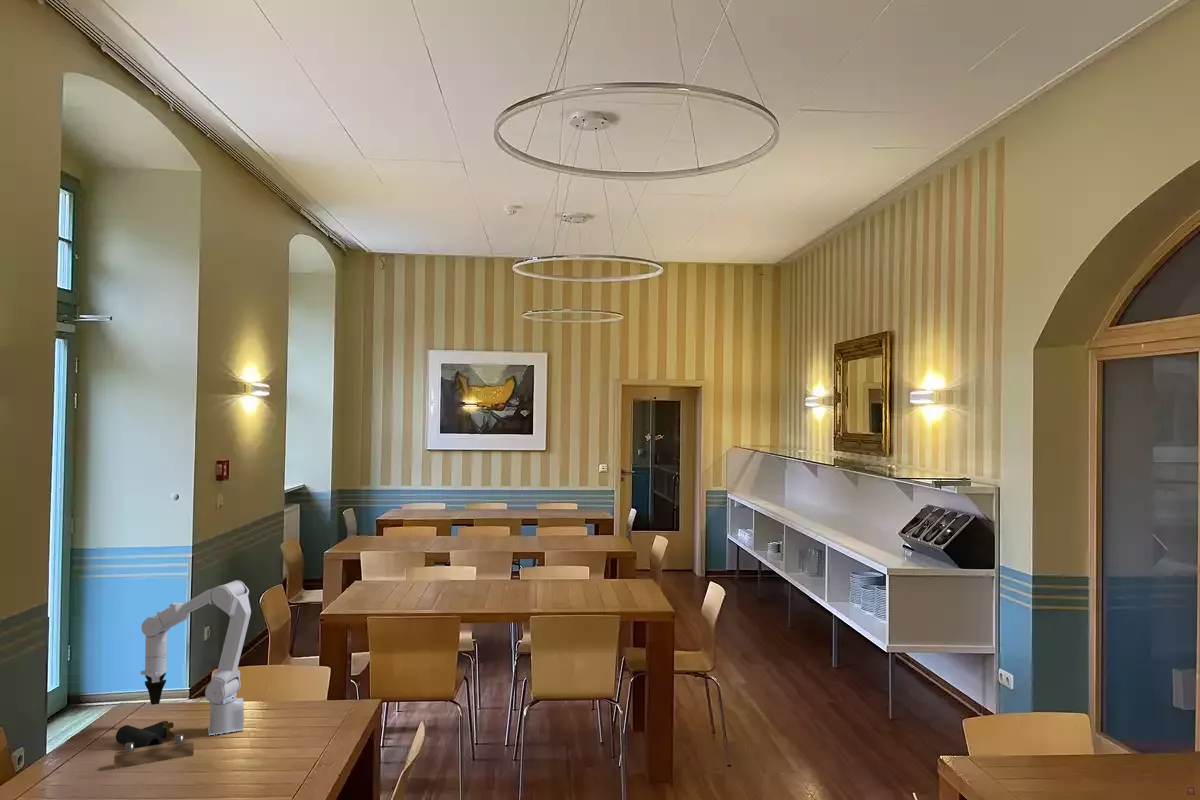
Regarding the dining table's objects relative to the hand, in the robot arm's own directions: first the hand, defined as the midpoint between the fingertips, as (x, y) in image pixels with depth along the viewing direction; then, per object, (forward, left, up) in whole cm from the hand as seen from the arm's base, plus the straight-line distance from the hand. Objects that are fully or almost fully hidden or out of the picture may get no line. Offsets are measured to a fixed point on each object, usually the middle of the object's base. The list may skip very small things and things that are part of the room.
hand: (155, 700), depth 248 cm
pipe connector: (+1, +13, -9) cm, 16 cm away
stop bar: (0, +28, -8) cm, 29 cm away
